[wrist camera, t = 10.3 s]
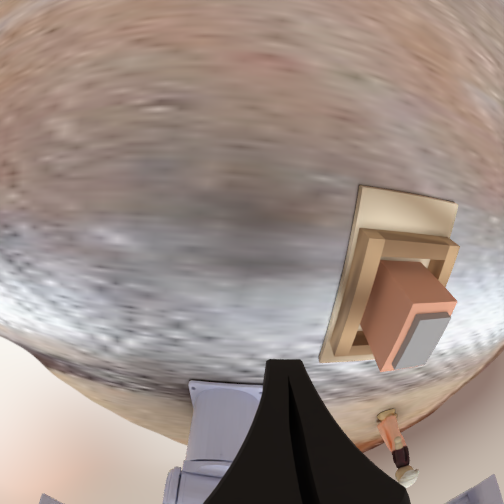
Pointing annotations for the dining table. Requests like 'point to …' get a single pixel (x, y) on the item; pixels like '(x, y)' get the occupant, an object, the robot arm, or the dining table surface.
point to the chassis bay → (386, 258)
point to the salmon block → (405, 314)
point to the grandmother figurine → (397, 447)
